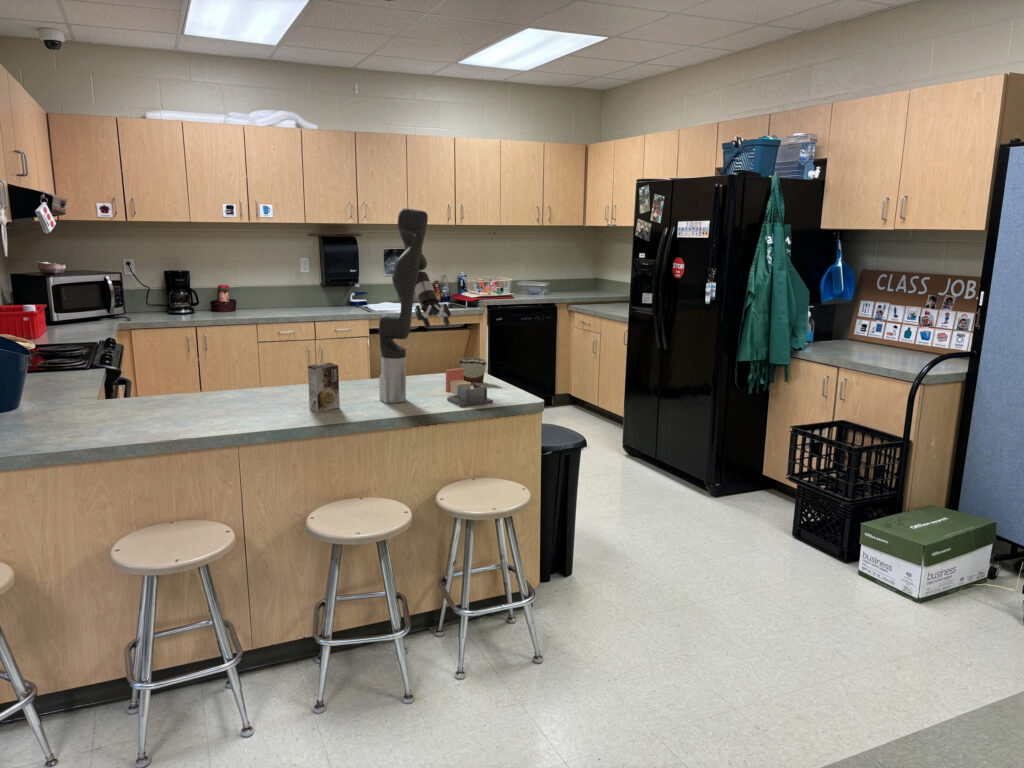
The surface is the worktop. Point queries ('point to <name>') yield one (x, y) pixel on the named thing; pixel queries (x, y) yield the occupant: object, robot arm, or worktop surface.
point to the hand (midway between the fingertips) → (438, 326)
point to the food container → (473, 369)
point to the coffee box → (323, 387)
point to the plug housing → (470, 396)
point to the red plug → (455, 380)
